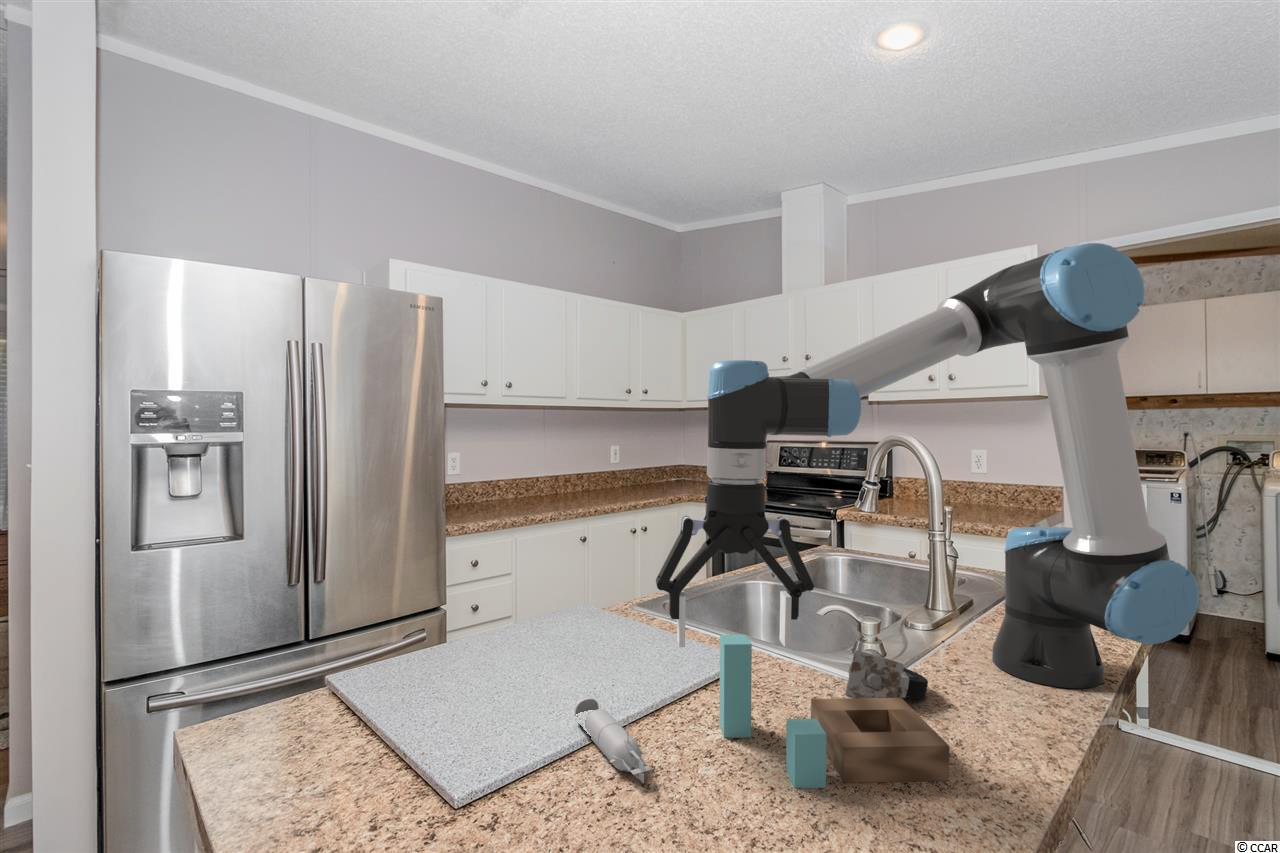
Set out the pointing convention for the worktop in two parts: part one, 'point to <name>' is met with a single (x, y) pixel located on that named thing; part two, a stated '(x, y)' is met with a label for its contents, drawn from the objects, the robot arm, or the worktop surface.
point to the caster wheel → (882, 678)
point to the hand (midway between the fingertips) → (733, 643)
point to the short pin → (806, 753)
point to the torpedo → (612, 739)
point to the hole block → (880, 741)
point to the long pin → (735, 685)
